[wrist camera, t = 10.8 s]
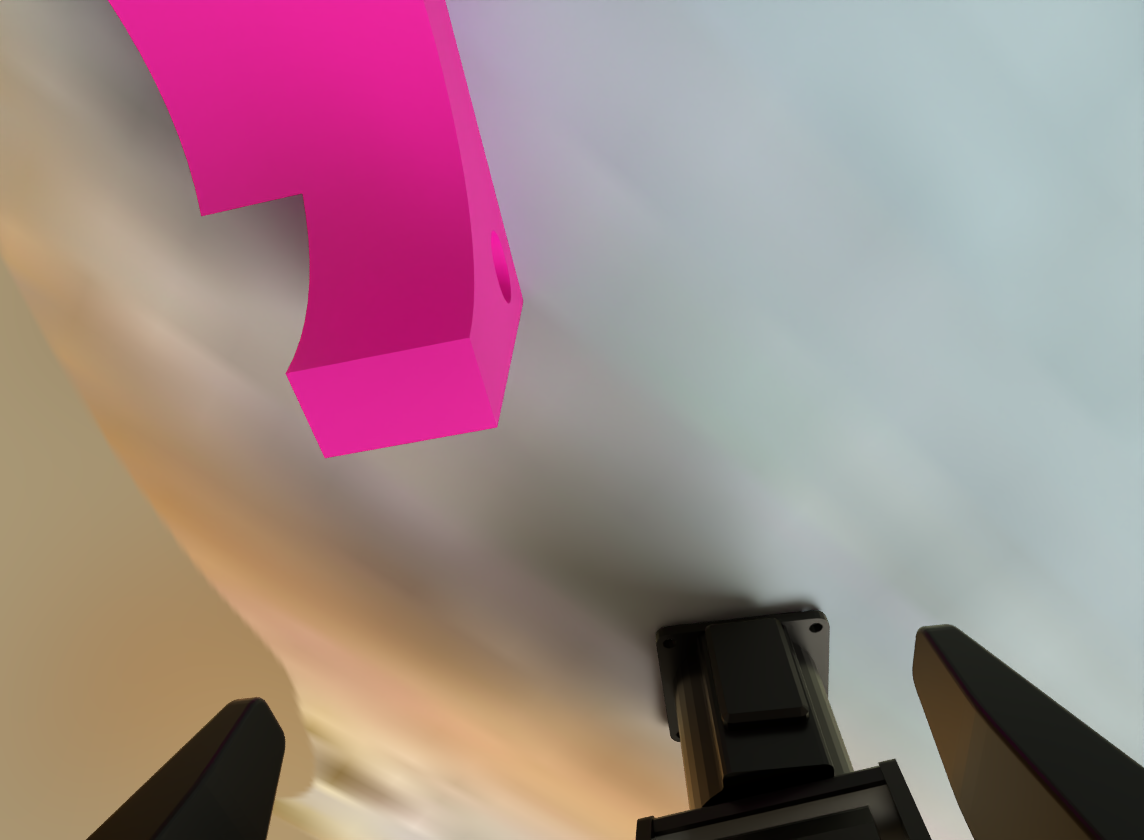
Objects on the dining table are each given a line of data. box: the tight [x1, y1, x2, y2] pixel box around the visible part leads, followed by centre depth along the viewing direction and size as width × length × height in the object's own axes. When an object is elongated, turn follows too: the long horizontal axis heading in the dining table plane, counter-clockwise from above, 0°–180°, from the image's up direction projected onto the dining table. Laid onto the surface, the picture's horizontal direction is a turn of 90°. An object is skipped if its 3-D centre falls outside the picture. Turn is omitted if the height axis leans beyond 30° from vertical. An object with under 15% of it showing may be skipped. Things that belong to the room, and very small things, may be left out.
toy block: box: [108, 0, 523, 458], centre depth 14 cm, size 15×6×8 cm, turn 12°
